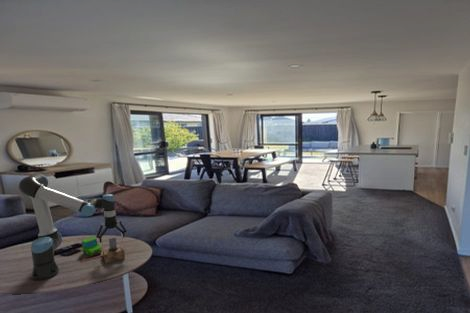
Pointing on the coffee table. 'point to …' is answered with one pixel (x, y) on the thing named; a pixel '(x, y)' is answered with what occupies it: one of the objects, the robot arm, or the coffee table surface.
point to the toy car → (90, 246)
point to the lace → (91, 258)
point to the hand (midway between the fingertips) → (112, 244)
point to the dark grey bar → (112, 243)
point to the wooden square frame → (113, 254)
